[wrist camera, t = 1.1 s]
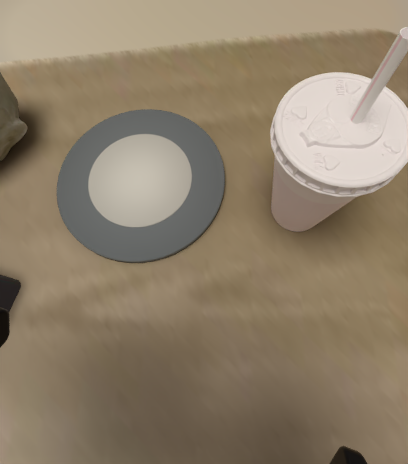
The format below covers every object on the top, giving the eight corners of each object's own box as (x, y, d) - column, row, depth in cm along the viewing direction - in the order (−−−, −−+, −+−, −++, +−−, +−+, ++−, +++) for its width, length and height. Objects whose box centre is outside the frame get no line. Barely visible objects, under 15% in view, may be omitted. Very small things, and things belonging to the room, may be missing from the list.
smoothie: (356, 230, 23) (547, 77, 9) (275, 263, 22) (357, 151, 9) (314, 159, 25) (422, -49, 11) (239, 187, 24) (261, 5, 11)
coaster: (258, 201, 24) (259, 197, 23) (106, 298, 22) (103, 297, 21) (169, 90, 28) (168, 83, 27) (35, 164, 26) (30, 159, 25)
